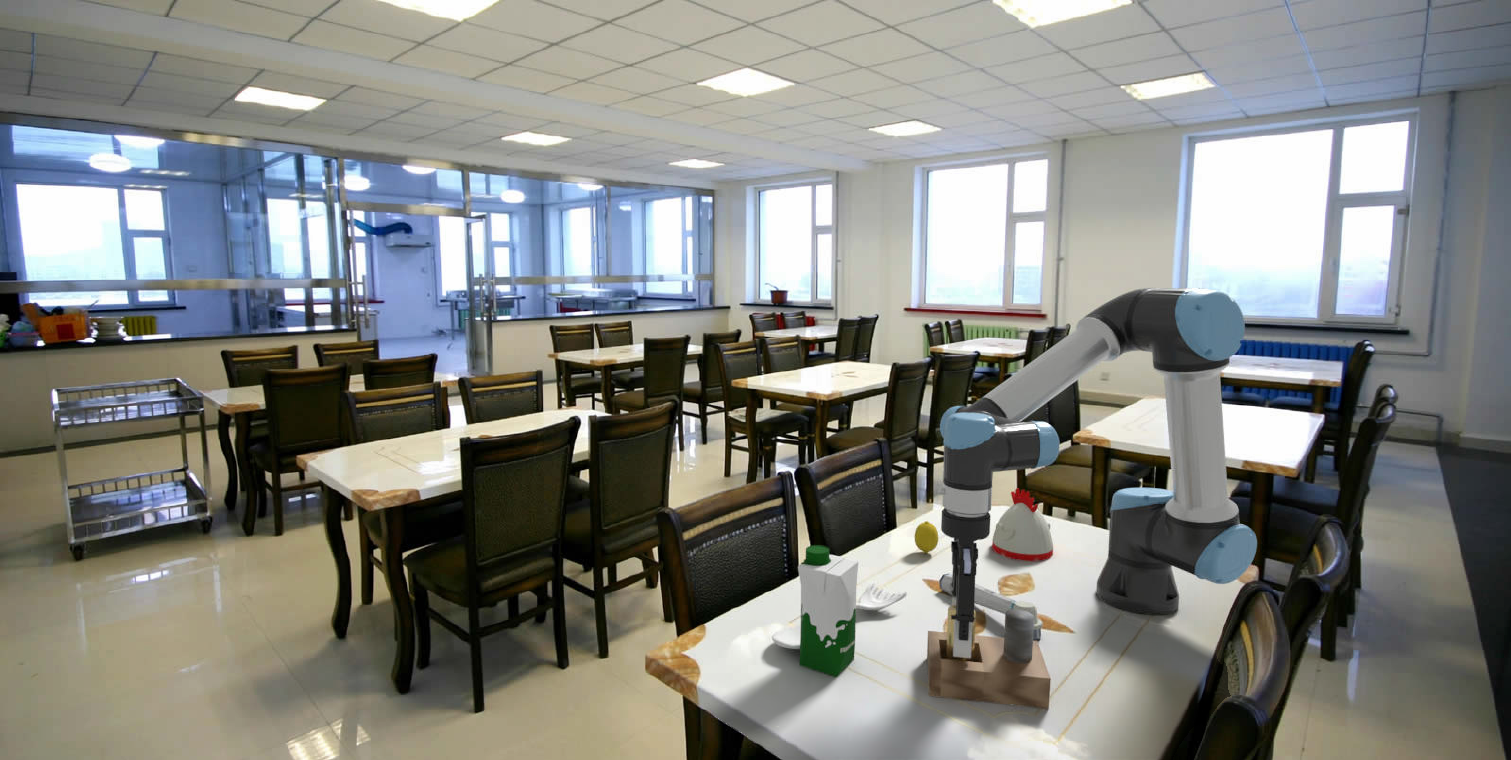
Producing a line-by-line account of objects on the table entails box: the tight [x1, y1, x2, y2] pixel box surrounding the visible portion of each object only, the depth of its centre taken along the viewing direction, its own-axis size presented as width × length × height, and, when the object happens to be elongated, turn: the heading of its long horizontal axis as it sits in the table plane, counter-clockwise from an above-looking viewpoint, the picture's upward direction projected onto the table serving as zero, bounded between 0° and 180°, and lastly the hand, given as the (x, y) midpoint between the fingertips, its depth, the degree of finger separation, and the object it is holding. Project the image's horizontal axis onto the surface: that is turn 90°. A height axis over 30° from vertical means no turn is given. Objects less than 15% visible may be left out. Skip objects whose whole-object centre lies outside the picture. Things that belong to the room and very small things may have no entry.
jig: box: [926, 609, 1052, 710], centre depth 121 cm, size 18×12×12 cm, turn 79°
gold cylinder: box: [946, 605, 977, 662], centre depth 122 cm, size 4×4×12 cm
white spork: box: [771, 582, 908, 650], centre depth 140 cm, size 9×32×4 cm, turn 133°
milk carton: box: [797, 544, 859, 678], centre depth 126 cm, size 9×9×20 cm
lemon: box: [914, 520, 939, 555], centre depth 177 cm, size 6×6×8 cm
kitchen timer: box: [991, 487, 1054, 562], centre depth 179 cm, size 14×14×15 cm
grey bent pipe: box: [938, 573, 1044, 641], centre depth 146 cm, size 5×7×25 cm
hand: (960, 645), depth 122 cm, fingers open, 6 cm apart
